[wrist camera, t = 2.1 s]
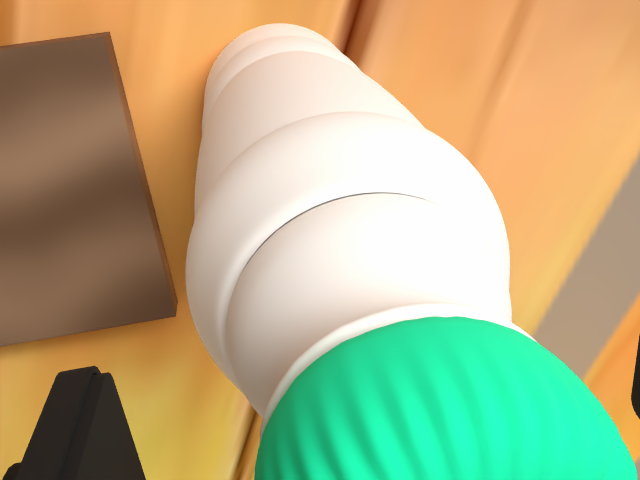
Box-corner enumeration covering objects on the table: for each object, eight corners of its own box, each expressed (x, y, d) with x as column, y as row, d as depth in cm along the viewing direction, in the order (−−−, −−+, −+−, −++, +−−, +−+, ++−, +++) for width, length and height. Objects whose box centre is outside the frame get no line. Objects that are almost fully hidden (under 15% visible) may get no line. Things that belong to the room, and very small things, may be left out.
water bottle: (354, 20, 28) (879, 297, 6) (350, 166, 31) (682, 721, 9) (198, 22, 27) (94, 362, 5) (210, 172, 30) (180, 811, 8)
